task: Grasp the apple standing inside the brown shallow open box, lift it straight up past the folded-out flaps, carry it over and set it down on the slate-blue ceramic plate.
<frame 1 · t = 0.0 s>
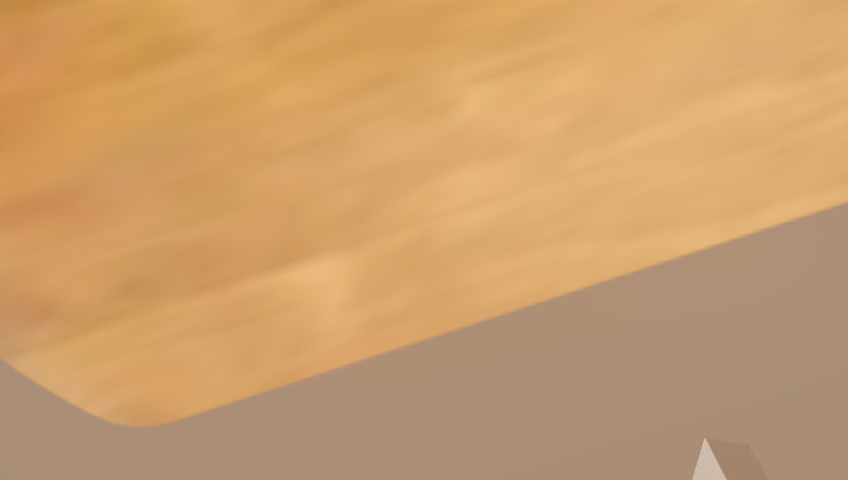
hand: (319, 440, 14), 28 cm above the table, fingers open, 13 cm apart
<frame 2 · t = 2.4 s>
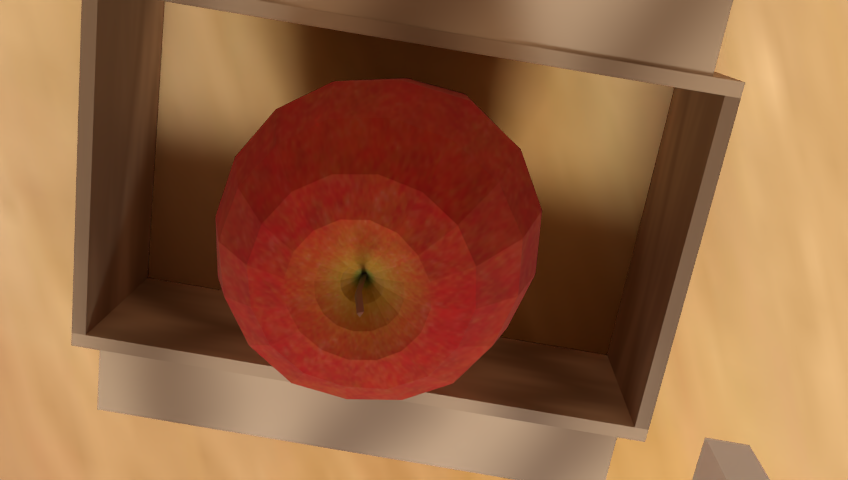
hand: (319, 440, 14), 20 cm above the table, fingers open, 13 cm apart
brown shallow open box: (398, 182, 33), on the table
apple: (398, 180, 33), resting in brown shallow open box
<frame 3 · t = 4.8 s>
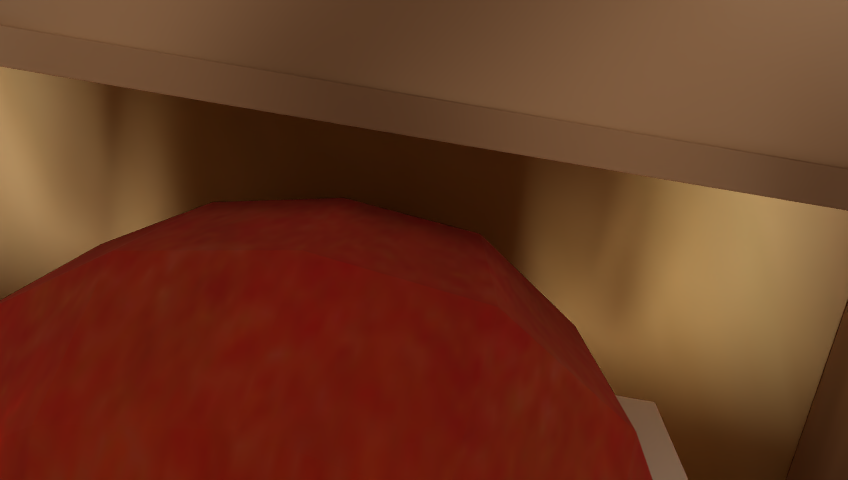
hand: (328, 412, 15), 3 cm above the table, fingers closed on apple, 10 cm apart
brown shallow open box: (350, 349, 18), on the table
apple: (352, 344, 18), resting in brown shallow open box, touching gripper
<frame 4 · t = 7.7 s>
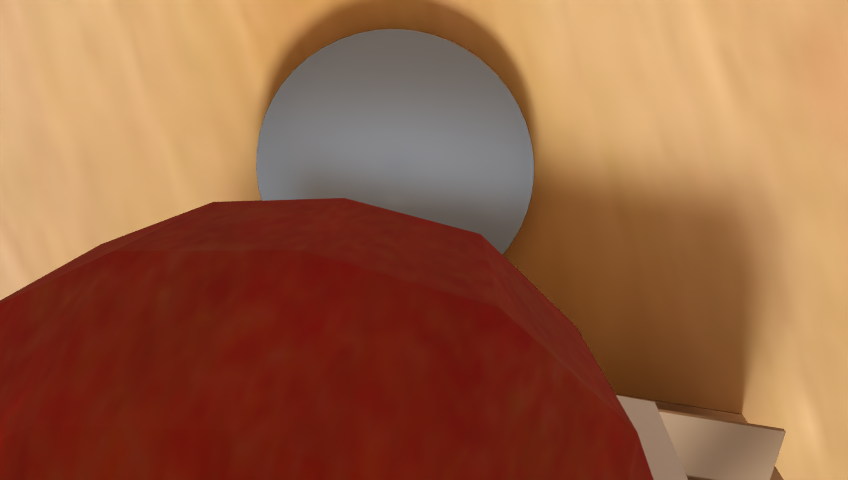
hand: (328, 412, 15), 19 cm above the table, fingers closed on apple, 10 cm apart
apple: (352, 345, 18), point 16 cm above the table, touching gripper
plate: (396, 167, 33), on the table
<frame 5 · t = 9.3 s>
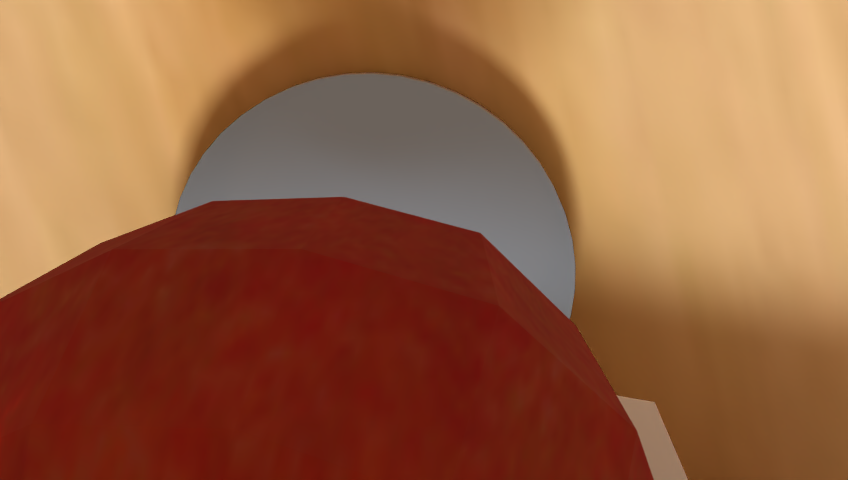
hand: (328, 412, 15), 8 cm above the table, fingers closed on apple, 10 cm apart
apple: (352, 344, 18), point 5 cm above the table, touching gripper
plate: (374, 268, 23), on the table
when the fingers open (6 cm above the table, at t = 10.7 s): apple drops 2 cm, resting on plate.
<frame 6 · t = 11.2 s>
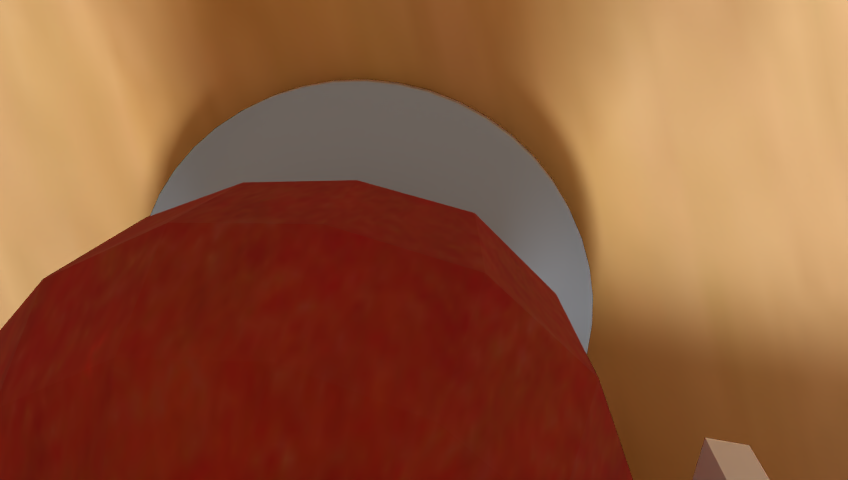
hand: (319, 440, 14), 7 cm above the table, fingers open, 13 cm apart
apple: (360, 312, 20), point 1 cm above the table, touching plate
plate: (367, 297, 21), on the table
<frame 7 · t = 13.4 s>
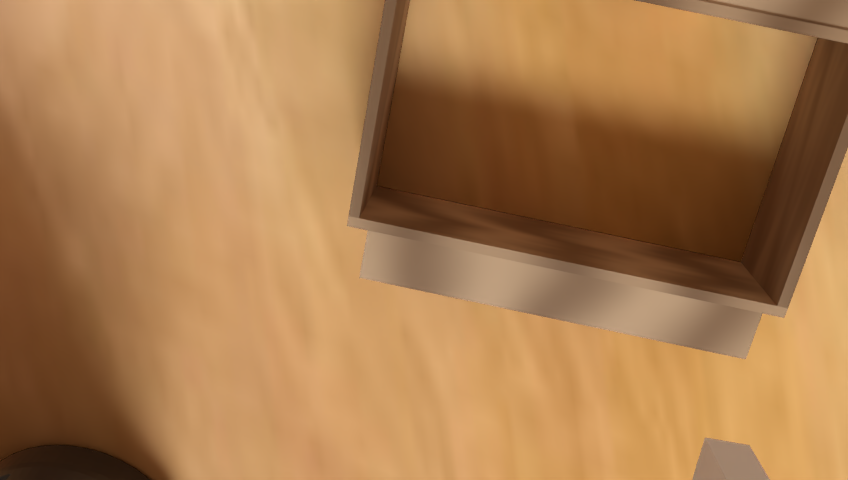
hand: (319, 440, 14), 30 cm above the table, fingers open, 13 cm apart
brown shallow open box: (586, 115, 42), on the table
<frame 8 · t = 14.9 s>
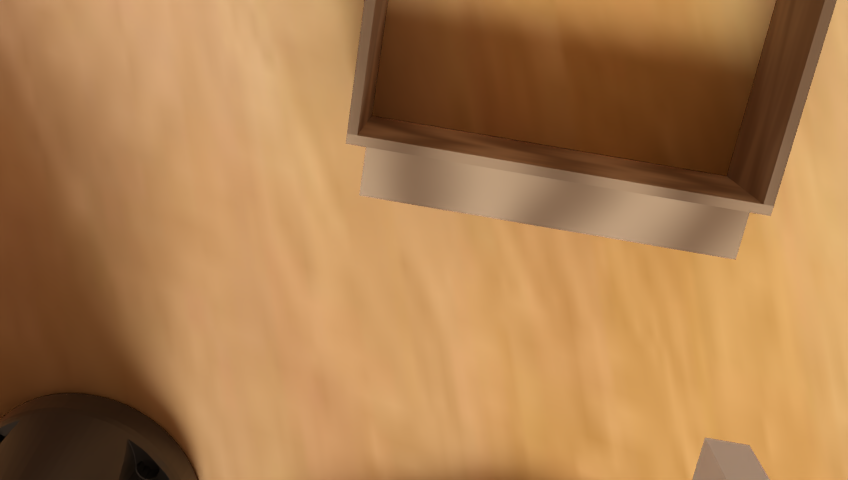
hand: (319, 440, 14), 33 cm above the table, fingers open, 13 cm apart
brown shallow open box: (572, 36, 43), on the table
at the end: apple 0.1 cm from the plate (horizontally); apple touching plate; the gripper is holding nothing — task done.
